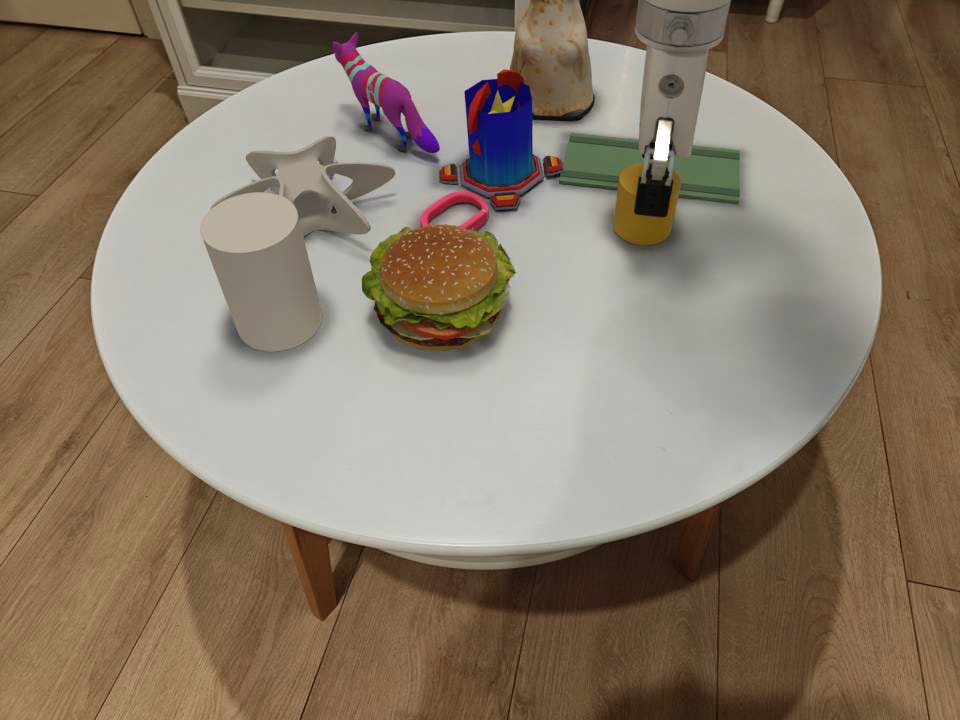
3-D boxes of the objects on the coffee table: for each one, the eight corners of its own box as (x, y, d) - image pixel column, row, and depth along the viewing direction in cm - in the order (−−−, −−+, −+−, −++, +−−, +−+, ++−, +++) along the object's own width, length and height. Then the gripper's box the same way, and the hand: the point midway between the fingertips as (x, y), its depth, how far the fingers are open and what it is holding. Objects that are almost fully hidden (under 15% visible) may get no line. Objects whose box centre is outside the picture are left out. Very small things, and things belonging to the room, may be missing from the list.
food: (533, 276, 77) (535, 212, 71) (483, 376, 69) (482, 313, 63) (409, 246, 81) (401, 183, 75) (347, 338, 72) (333, 275, 66)
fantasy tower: (507, 215, 83) (503, 115, 74) (429, 177, 89) (417, 80, 80) (572, 165, 89) (576, 67, 80) (495, 132, 94) (491, 37, 85)
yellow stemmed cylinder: (672, 212, 83) (685, 152, 78) (669, 248, 79) (682, 188, 74) (615, 205, 84) (624, 145, 79) (609, 241, 80) (618, 181, 75)
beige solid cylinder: (290, 279, 78) (262, 180, 68) (339, 319, 74) (316, 220, 65) (221, 320, 74) (182, 222, 65) (268, 365, 70) (234, 266, 61)
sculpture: (309, 297, 76) (296, 248, 71) (190, 217, 85) (172, 168, 80) (430, 212, 84) (426, 163, 80) (311, 147, 93) (301, 100, 88)
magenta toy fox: (355, 102, 100) (343, 24, 92) (451, 156, 91) (446, 75, 84) (333, 114, 98) (318, 35, 90) (428, 170, 90) (421, 88, 82)
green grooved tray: (738, 153, 91) (739, 149, 90) (738, 203, 84) (739, 200, 84) (571, 135, 94) (571, 131, 93) (558, 183, 87) (559, 179, 87)
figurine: (501, 118, 97) (501, -50, 82) (507, 76, 103) (508, -86, 88) (594, 122, 96) (612, -47, 81) (594, 79, 102) (610, -84, 87)
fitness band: (448, 251, 80) (447, 240, 79) (409, 228, 83) (408, 217, 81) (499, 214, 84) (499, 203, 83) (460, 193, 86) (460, 182, 85)
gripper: (726, 68, 59) (688, 243, 71) (727, -23, 70) (694, 142, 82) (627, 60, 60) (607, 234, 72) (644, -27, 71) (624, 136, 84)
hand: (653, 185), depth 77 cm, fingers open, 9 cm apart
